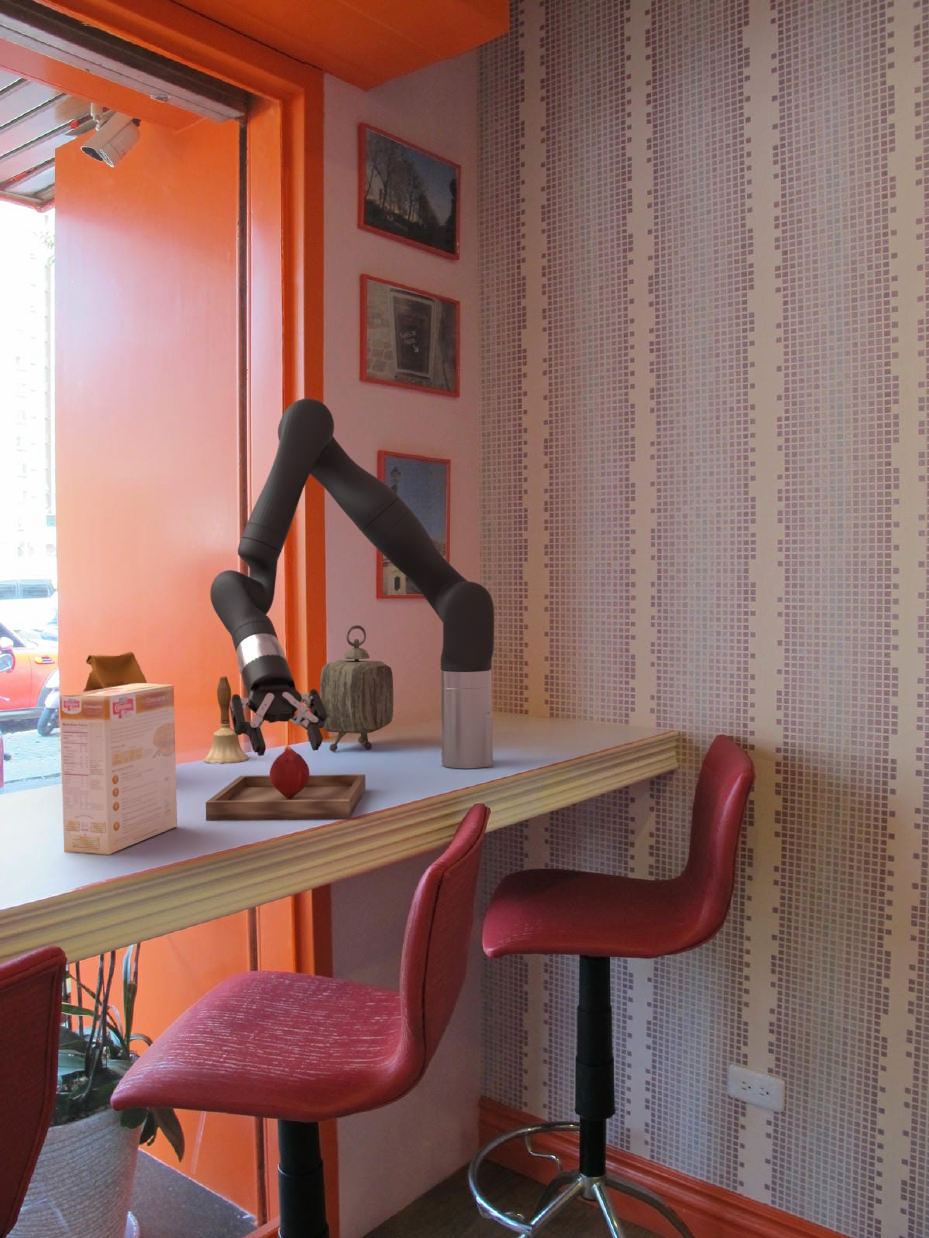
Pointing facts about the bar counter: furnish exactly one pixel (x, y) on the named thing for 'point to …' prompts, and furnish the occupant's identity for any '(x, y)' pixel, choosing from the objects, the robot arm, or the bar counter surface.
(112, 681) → the coffee package
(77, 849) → the coffeecake box
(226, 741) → the hand bell
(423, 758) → the bar counter surface
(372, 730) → the tabletop clock
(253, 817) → the walnut tray
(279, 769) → the onion
